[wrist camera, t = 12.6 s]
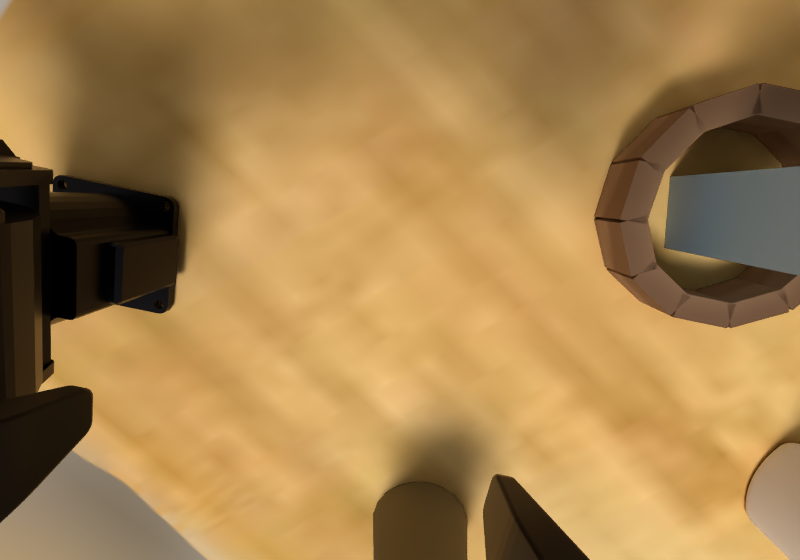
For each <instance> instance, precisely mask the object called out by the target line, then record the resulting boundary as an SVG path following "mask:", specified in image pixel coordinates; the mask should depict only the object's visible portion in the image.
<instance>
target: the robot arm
mask: <svg viewBox="0 0 800 560" xmlns="http://www.w3.org/2000/svg"><path fill="white" fill-rule="evenodd" d="M65 182H66V184H67V188H65V185H64V184H65ZM50 184H53V192H50ZM166 202H167V203H168V204H169V206H170V208H169V210H167V209H166V208H165V204H166ZM178 214H179V205H178V202H177V201H176V200H175V199H174V198H172V197H169V196H164V195H159V194H155V193H150V192H145V191H140V190H135V189H130V188H126V187H121V186H116V185H111V184H106V183H101V182H97V181H92V180H87V179H82V178H77V177H73V176H64V175H58V176H56V177H55V178H54V180H53V170H52V169H47V168H43V167H38V166H33V165H32V162H30V161H26V160H22V159H20V157H16V156H15V155H14V153H13V152H12V151H11V150H10V148H9V147H8V146H7V145H6V144H5V142H4V141H3V140H1V139H0V523H1V522H2V521H3V520H4V519H5V518H6V517H7V516H8V515H9V514H10V513H12V512H13V511H14V510H15V509H16V508H17V507H18V506H19V505H20V504H21V503H22V502H23V501H24V500H25V499H26V498H27V497H28V496H29V495H30V494H31V493H32V492H33V491H34V490H35V489H36V488H37V487H38V486H39V485H40V484H41V482H42V481H43V480H44V479H45V478H46V477H47V476H48V475H49V474H50V473H51V472H52V471H53V470H54V468H55V467H56V466H57V465H58V464H59V463H60V462H61V461H62V460H63V459H64V458H65V457H66V456H67V455H68V453H69V452H70V451H71V450H72V449H73V448H74V447H75V446H76V445H77V444H78V443H79V442H80V441H81V439H82V438H83V437H84V436H85V435H86V434H87V433H88V431H89V429H90V427H91V425H92V416H93V394H92V392H91V390H89V389H87V388H82V387H78V386H64V387H60V388H55V389H51V390H46V391H42V392H38V390H39V388H40V386H41V384H42V383H43V382H45V381H46V380H47V379H48V378H49V377H50V376H51V375H52V374H53V373H54V361H53V360H51V325H52V324H55V323H58V322H61V321H64V320H67V319H68V320H73V319H76V318H79V317H81V316H84V315H87V314H90V313H93V312H95V311H98V310H101V309H104V308H107V307H110V306H112V305H115V304H116V305H120V306H125V307H130V308H135V309H140V310H145V311H149V312H154V313H164V312H166V311H168V310H170V309H171V307H172V301H173V286H174V283H175V282H176V270H177V255H178V239H177V228H178ZM159 301H161V302H162V303H163V307H162V306H161V305H160V304H159ZM483 521H484V535H485V548H486V560H590V559H589V558H588V557H587V556H586V555H585V554H584V553H583V552H582V551H581V550H580V549H579V548H578V546H577V545H576V544H575V543H574V542H573V541H572V540H571V539H570V538H569V537H568V536H567V535H566V534H565V532H564V531H563V530H562V529H561V528H560V527H559V526H558V525H557V524H556V523H555V522H554V521H553V520H552V518H551V517H550V516H549V515H548V514H547V513H546V512H545V511H544V510H543V509H542V508H541V507H540V506H539V504H538V503H537V502H536V501H535V500H534V499H533V498H532V497H531V496H530V495H529V494H528V493H527V492H526V490H525V489H524V488H523V487H522V486H521V485H520V484H519V483H518V482H517V481H516V480H515V479H514V478H513V477H509V476H505V475H500V474H496V475H494V476H493V478H492V480H491V484H490V487H489V490H488V493H487V497H486V500H485V504H484V509H483Z"/></svg>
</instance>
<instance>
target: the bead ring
mask: <svg viewBox="0 0 800 560" xmlns="http://www.w3.org/2000/svg"><path fill="white" fill-rule="evenodd" d="M718 127H721V128H726V129H731V130H736V131H740V132H745V133H750V134H755V135H756V136H757V138H758V139H759V140H760V141H761V142H762V143H763V144H764V145H765V146H766V147H767V148H768V149H769V150H770V152H771V153H772V154H773V155H774V156H775V157H776V158H777V159H778V160H779V161H780V162H781V163H782V165H783V168H785V167H798V166H800V90H795V89H790V88H785V87H780V86H776V85H771V84H766V83H761V84H759V83H758V84H755V85H752V86H749V87H746V88H743V89H740V90H737V91H734V92H731V93H728V94H725V95H722V96H719V97H716V98H713V99H710V100H707V101H704V102H701V103H698V104H695V105H692V106H689V107H687V108H684V109H681V110H678V111H675V112H672V113H669V114H666V115H663V116H660V117H657V119H654V120H653V121H652V122H651V123H650V124H649V125H648V126H647V127H646V128H645V129H644V130H643V131H642V132H641V133H640V134H639V135H638V136H637V137H636V138H635V139H634V140H633V141H632V142H631V143H630V144H629V145H628V146H627V147H626V148H625V150H624V151H623V152H622V153H621V154H620V155H619V156H618V157H617V158H616V159H615V160H614V161H613V163H614V165H610V169H609V172H608V175H607V178H606V181H605V184H604V188H603V191H602V194H601V197H600V200H599V204H598V207H597V210H596V213H595V217H600V218H599V219H596V220H594V221H595V225H596V229H597V234H598V238H599V243H600V247H601V251H602V256H603V260H604V264H605V267H607V268H608V269H607V270H608V271H609V272H610V273H611V274H612V275H613V276H614V277H615V278H616V279H617V280H618V281H619V282H620V283H621V284H622V285H623V286H624V287H625V288H626V289H627V290H629V291H630V292H631V293H632V294H633V295H634V296H635V297H636V298H637V299H638V300H639V301H640V302H643V303H644V304H647V305H649V306H651V307H653V308H655V309H657V310H659V311H661V312H664V313H666V314H668V315H670V316H672V317H675V318H680V319H685V320H690V321H695V322H700V323H704V324H709V325H714V326H719V327H724V328H727V327H730V328H733V327H736V326H740V325H744V324H747V323H751V322H755V321H758V320H762V319H765V318H769V317H773V316H776V315H780V314H784V313H787V312H789V309H791V310H793V309H795V308H796V307H797V306H798V305H799V304H800V276H799V275H794V274H789V273H784V272H779V271H775V270H770V269H765V268H760V267H755V266H749V267H748V268H747V269H746V270H745V271H744V272H743V273H741V274H740V275H739V276H738V277H737V278H735V279H732V280H728V281H725V282H722V283H718V284H715V285H711V286H708V287H704V288H701V289H697V290H689V289H684V288H681V287H680V286H678V285H677V284H676V283H675V282H674V281H673V280H672V279H671V278H670V277H669V276H668V275H667V274H666V273H665V272H664V271H663V270H662V269H661V268H660V267H659V266H658V265H657V264H656V259H655V254H654V249H653V244H652V239H651V234H650V229H649V224H648V217H649V214H650V211H651V208H652V205H653V202H654V200H655V197H656V194H657V191H658V188H659V185H660V182H661V179H662V176H663V174H664V171H665V170H666V169H667V168H668V167H669V166H670V165H671V164H672V163H673V162H674V161H675V160H676V159H677V158H678V157H679V156H680V155H681V154H682V153H683V152H684V151H685V150H686V149H687V148H688V147H689V146H690V145H691V144H692V143H693V142H695V141H696V140H697V139H698V138H699V137H700V136H701V135H702V134H703V133H704V132H706V131H709V130H712V129H715V128H718Z"/></svg>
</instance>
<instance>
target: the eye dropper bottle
mask: <svg viewBox="0 0 800 560" xmlns="http://www.w3.org/2000/svg"><path fill="white" fill-rule="evenodd" d="M745 507H746V513H747V516H748V518H749V519H750V521H751V522H752V523H753V524H754V525H755V526H756V527H757V528H758V529H759V530H760V531H761V532H762V533H763V534H764V535H765V536H766V537H767V538H768V539H769V540H770V541H772V542H773V543H774V544H775V545H776V546H777V547H778V548H779V549H780V550H781V551H782V552H783V553H784V554H785V555H786V556H787V557H788V558H789V559H790V560H800V444H797V443H785V444H783V445H781V446H779V447H778V448H777V449H775V450H774V451H773V452H772V453H771V454H770V455H769V456H768V457H767V458H766V459H765V460H764V461H763V463H762V464H761V465H760V466H759V468H758V469H757V471H756V472H755V474H754V476H753V478H752V480H751V482H750V485H749V488H748V491H747V496H746V504H745Z"/></svg>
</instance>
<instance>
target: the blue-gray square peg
mask: <svg viewBox="0 0 800 560" xmlns="http://www.w3.org/2000/svg"><path fill="white" fill-rule="evenodd" d="M664 248H667V249H672V250H677V251H682V252H687V253H692V254H697V255H701V256H706V257H711V258H716V259H721V260H726V261H731V262H736V263H740V264H745V265H750V266H755V267H760V268H765V269H770V270H775V271H779V272H784V273H789V274H794V275H799V276H800V166H798V167H785V168H773V169H761V170H748V171H736V172H723V173H711V174H699V175H686V176H674V177H670V188H669V200H668V211H667V223H666V235H665V247H664Z"/></svg>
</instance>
